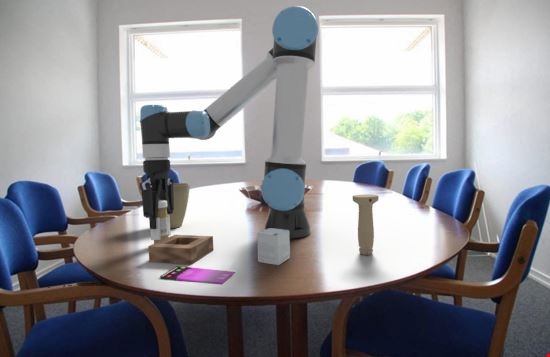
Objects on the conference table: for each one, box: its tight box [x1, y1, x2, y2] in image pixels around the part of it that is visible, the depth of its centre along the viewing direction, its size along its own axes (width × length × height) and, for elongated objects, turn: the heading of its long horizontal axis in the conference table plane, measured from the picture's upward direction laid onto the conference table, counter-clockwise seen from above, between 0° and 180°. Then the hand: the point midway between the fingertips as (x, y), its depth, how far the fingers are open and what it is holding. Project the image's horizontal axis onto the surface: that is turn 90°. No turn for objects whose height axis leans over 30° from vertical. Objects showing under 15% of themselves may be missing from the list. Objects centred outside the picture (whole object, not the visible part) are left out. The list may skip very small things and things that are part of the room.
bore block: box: [148, 234, 214, 266], centre depth 88 cm, size 12×12×4 cm
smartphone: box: [159, 265, 236, 285], centre depth 73 cm, size 7×15×1 cm, turn 74°
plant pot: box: [170, 182, 191, 229], centre depth 125 cm, size 15×15×16 cm
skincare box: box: [256, 228, 291, 266], centre depth 82 cm, size 6×6×7 cm
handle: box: [352, 193, 379, 256], centre depth 84 cm, size 5×6×15 cm
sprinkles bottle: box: [153, 200, 170, 244], centre depth 98 cm, size 5×5×13 cm
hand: (161, 237), depth 99 cm, fingers closed on sprinkles bottle, 4 cm apart
